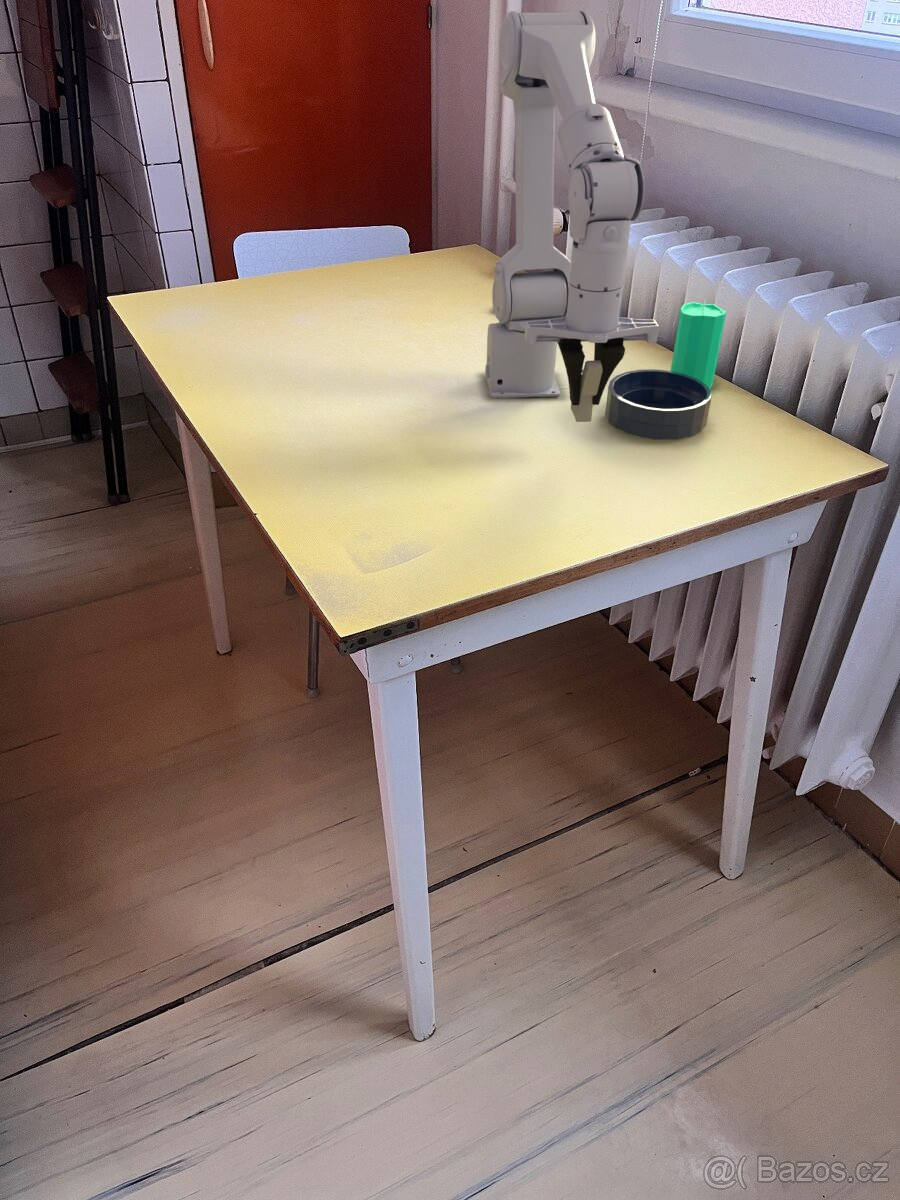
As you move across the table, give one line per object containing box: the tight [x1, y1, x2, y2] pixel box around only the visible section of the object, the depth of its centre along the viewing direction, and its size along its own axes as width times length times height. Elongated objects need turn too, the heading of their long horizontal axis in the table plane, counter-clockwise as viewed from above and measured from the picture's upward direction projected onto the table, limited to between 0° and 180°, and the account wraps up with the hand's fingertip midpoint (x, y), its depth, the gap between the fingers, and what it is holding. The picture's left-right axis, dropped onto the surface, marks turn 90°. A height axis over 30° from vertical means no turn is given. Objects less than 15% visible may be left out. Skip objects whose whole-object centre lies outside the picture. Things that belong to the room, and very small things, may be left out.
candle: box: [670, 297, 727, 390], centre depth 127 cm, size 6×6×12 cm
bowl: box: [604, 368, 713, 441], centre depth 120 cm, size 13×13×4 cm
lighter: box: [570, 360, 603, 423], centre depth 107 cm, size 7×2×8 cm, turn 4°
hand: (584, 401), depth 108 cm, fingers closed on lighter, 2 cm apart
